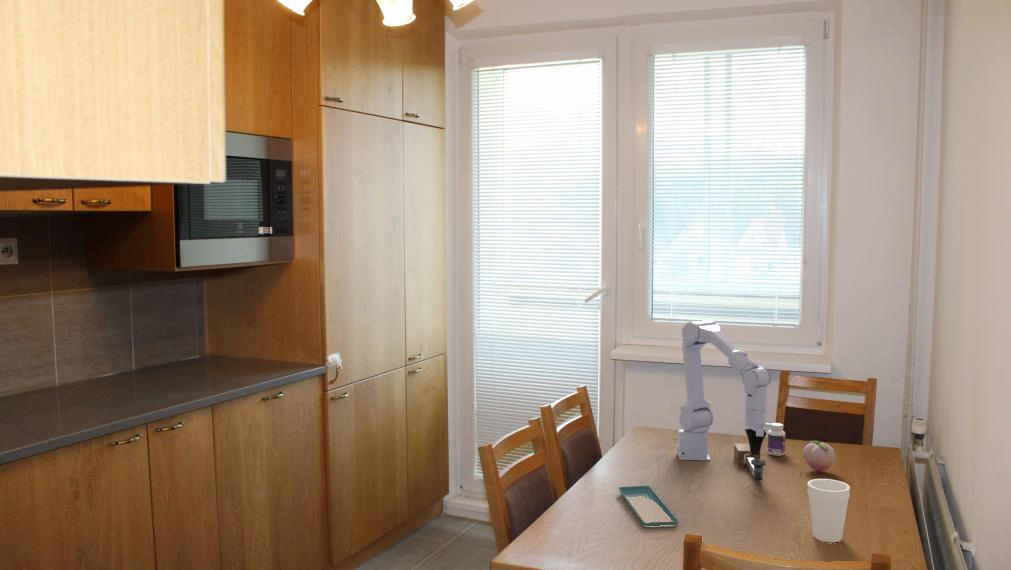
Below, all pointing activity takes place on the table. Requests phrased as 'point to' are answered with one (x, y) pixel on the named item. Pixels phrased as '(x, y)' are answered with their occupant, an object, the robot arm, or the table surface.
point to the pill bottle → (776, 440)
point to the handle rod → (755, 467)
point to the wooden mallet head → (742, 453)
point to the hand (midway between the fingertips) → (755, 454)
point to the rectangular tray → (646, 492)
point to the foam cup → (828, 508)
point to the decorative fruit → (819, 455)
